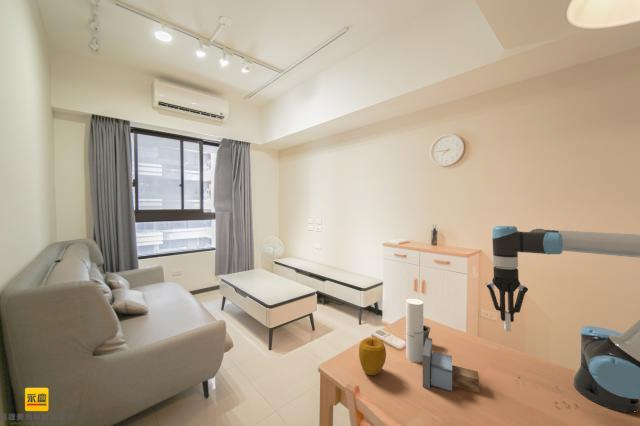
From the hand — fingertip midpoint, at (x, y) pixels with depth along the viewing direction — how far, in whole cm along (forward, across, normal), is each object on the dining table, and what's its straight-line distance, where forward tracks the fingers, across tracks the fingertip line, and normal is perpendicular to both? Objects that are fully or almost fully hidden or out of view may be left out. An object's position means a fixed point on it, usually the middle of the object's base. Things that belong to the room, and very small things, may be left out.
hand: (507, 329), depth 94 cm
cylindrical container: (+20, +34, -3) cm, 39 cm away
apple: (+19, +49, +14) cm, 54 cm away
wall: (+20, +28, +8) cm, 35 cm away
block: (+20, +23, +8) cm, 31 cm away
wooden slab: (+20, +18, +7) cm, 28 cm away
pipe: (+20, +32, -15) cm, 41 cm away
